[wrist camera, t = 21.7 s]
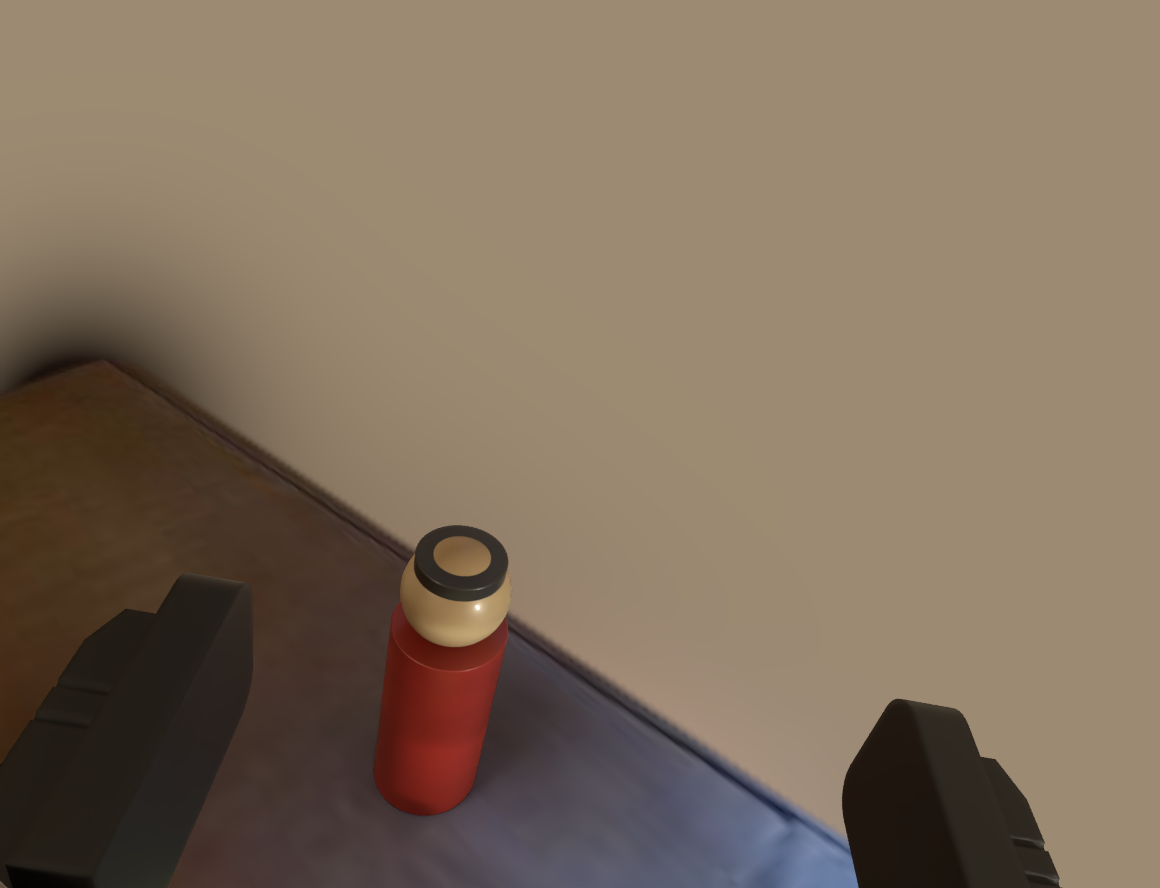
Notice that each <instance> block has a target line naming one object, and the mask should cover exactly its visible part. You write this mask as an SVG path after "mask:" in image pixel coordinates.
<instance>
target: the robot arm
mask: <svg viewBox="0 0 1160 888" xmlns="http://www.w3.org/2000/svg"><path fill="white" fill-rule="evenodd" d="M252 673H253V610H252V588H251V585H250V584H249V583H246V582H240V581H234V580H229V579H223V578H217V577H211V576H206V575H200V574H194V573H188V572H186V573H183V574H182V575H181V576H180V577H179V578H178V579H177V580H176V582H175V583H174V585H173V586H172V588H171V590H170V591H169V593H168V595H167V596H166V598H165V600H164V601H163V603H162V605H161V606H160V608H159V610H158V611H157V613H156V614H153V613H148V612H142V611H136V610H130V609H125V610H124V611H122V612H121V613H120V614H118V615H117V616H116V617H114V618H113V619H112V620H110V621H109V622H108V623H106V624H105V625H104V626H102V627H101V628H100V629H98V630H97V631H96V632H94V633H93V634H92V635H90V636H89V637H88V638H86V639H85V640H84V642H83V643H82V645H81V646H80V648H79V649H78V651H77V652H76V653H75V655H74V656H73V658H72V659H71V661H70V662H69V664H68V665H67V667H66V668H65V670H64V671H63V673H62V674H61V676H60V677H59V679H58V684H57V686H56V687H53V688H52V689H51V691H50V692H49V694H48V695H47V697H46V698H45V700H44V701H43V703H42V704H41V706H40V707H39V709H38V710H37V711H36V717H35V719H34V720H30V722H29V723H28V725H27V726H26V728H25V729H24V731H23V732H22V734H21V735H20V737H19V738H18V740H17V741H16V743H15V744H14V746H13V747H12V749H11V750H10V752H9V753H8V755H7V756H6V758H5V759H4V761H3V762H2V764H1V765H0V888H167V886H168V883H169V881H170V879H171V877H172V874H173V872H174V870H175V867H176V865H177V863H178V861H179V858H180V856H181V854H182V851H183V849H184V847H185V844H186V842H187V840H188V838H189V835H190V833H191V831H192V828H193V826H194V824H195V822H196V819H197V817H198V815H199V812H200V810H201V808H202V806H203V803H204V801H205V799H206V796H207V794H208V792H209V789H210V787H211V785H212V783H213V780H214V778H215V776H216V773H217V771H218V769H219V767H220V764H221V762H222V760H223V757H224V755H225V753H226V751H227V748H228V746H229V744H230V741H231V739H232V737H233V735H234V732H235V730H236V728H237V725H238V723H239V721H240V718H241V716H242V713H243V710H244V708H245V704H246V701H247V698H248V694H249V690H250V685H251V680H252ZM842 810H843V818H844V823H845V827H846V832H847V837H848V841H849V846H850V850H851V855H852V859H853V864H854V868H855V873H856V877H857V882H858V886H859V888H1060V887H1059V882H1058V881H1059V876H1058V874H1057V871H1056V869H1055V867H1054V864H1053V862H1052V859H1051V857H1050V855H1049V852H1048V851H1045V850H1044V843H1045V842H1044V840H1043V838H1042V835H1041V833H1040V830H1039V828H1038V825H1037V823H1036V821H1035V818H1034V816H1033V813H1032V811H1031V809H1030V806H1029V804H1028V802H1027V799H1026V798H1025V797H1024V795H1023V794H1022V793H1021V792H1020V790H1019V789H1018V788H1017V786H1016V785H1015V784H1014V783H1013V781H1012V780H1011V779H1010V778H1009V776H1008V775H1007V774H1006V772H1005V771H1004V770H1003V768H1002V767H1001V766H1000V765H999V763H998V762H997V761H996V760H995V759H990V758H984V757H980V754H979V752H978V749H977V747H976V744H975V741H974V739H973V736H972V733H971V731H970V728H969V725H968V723H967V721H966V719H965V718H964V716H963V714H962V713H961V712H960V711H958V710H957V709H954V708H949V707H944V706H938V705H931V704H926V703H921V702H915V701H909V700H903V699H895V700H893V701H891V702H890V703H889V704H888V706H887V707H886V709H885V710H884V712H883V713H882V715H881V717H880V718H879V720H878V722H877V723H876V725H875V727H874V728H873V730H872V731H871V733H870V734H869V736H868V738H867V739H866V741H865V742H864V744H863V746H862V747H861V749H860V751H859V752H858V754H857V755H856V757H855V759H854V760H853V762H852V763H851V765H850V767H849V769H848V771H847V774H846V777H845V781H844V786H843V794H842Z"/></svg>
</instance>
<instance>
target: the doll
mask: <svg viewBox="0 0 1160 888" xmlns="http://www.w3.org/2000/svg"><path fill="white" fill-rule="evenodd" d="M507 568H508V556H507V553H506V551H505V549H504V547H503V545H502V544H501V543H500V542H499V541H498V540H497V539H496V538H494V537H493V536H492V535H490V534H489V533H487V532H485V531H483V530H480V529H477V528H474V527H469V526H461V525H453V526H446V527H441V528H438V529H435V530H433V531H431V532H429V533H428V534H426V535H425V536H424V537H423V538H422V539H421V540H420V542H419V543H418V545H417V547H416V551H415V554H414V555H413V557H412V558H411V560H410V561H409V563H408V564H407V566H406V568H405V570H404V573H403V576H402V580H401V585H400V599H401V601H400V602H399V604H398V605H397V607H396V608H395V610H394V612H393V615H392V618H391V626H390V634H389V643H388V651H387V660H386V668H385V677H384V685H383V694H382V702H381V710H380V719H379V727H378V736H377V744H376V753H375V761H374V778H375V782H376V785H377V788H378V789H379V791H380V793H381V794H382V796H383V797H384V798H385V799H386V800H387V801H388V802H389V803H390V804H391V805H393V806H394V807H396V808H398V809H399V810H402V811H404V812H407V813H410V814H415V815H435V814H439V813H442V812H445V811H448V810H450V809H452V808H453V807H455V806H456V805H458V804H459V803H460V802H461V801H463V800H464V798H465V797H466V796H467V795H468V794H469V792H470V790H471V789H472V786H473V784H474V781H475V777H476V773H477V768H478V764H479V760H480V755H481V751H482V747H483V742H484V738H485V734H486V729H487V725H488V720H489V716H490V712H491V707H492V703H493V699H494V694H495V690H496V686H497V681H498V677H499V673H500V668H501V664H502V659H503V655H504V651H505V646H506V642H507V637H508V625H507V621H506V618H505V616H506V614H507V612H508V608H509V605H510V602H511V594H512V585H511V578H510V574H509V571H508V569H507Z"/></svg>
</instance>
